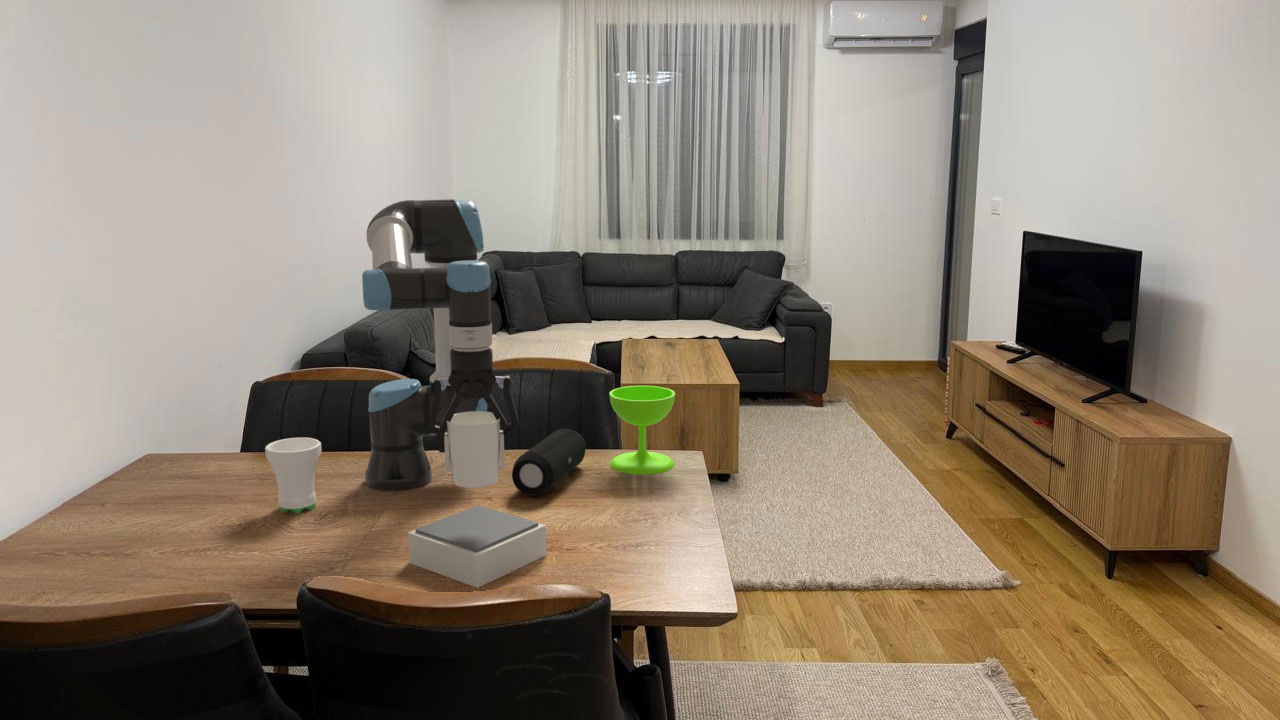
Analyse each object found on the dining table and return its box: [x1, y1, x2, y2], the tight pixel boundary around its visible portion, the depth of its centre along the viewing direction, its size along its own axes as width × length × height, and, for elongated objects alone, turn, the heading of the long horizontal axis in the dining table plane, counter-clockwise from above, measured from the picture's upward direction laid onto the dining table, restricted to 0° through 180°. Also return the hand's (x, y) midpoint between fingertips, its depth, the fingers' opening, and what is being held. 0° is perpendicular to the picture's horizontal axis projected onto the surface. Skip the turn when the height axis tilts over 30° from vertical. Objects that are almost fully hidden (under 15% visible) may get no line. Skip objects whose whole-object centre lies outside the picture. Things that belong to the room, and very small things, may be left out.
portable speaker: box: [511, 428, 586, 496], centre depth 228 cm, size 26×10×10 cm, turn 163°
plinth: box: [407, 504, 548, 589], centre depth 184 cm, size 18×18×7 cm
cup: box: [264, 437, 322, 515], centre depth 209 cm, size 11×11×14 cm
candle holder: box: [447, 411, 501, 489], centre depth 180 cm, size 10×10×12 cm
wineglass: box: [608, 385, 676, 476], centre depth 239 cm, size 16×16×18 cm
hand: (475, 467), depth 180 cm, fingers closed on candle holder, 9 cm apart
